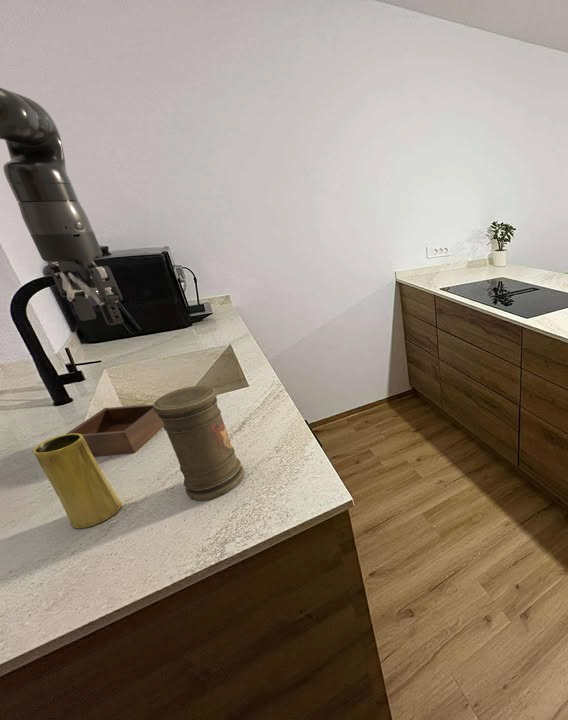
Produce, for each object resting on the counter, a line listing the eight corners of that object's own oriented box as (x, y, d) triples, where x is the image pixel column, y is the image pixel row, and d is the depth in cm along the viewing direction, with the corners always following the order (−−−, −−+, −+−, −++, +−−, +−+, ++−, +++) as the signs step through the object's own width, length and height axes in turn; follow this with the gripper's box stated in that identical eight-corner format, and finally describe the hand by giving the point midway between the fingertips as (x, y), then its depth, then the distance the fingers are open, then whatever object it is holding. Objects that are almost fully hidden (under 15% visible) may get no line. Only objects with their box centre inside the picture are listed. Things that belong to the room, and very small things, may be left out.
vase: (115, 520, 61) (76, 448, 55) (64, 534, 58) (17, 460, 52) (127, 495, 66) (93, 427, 60) (81, 507, 63) (40, 437, 57)
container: (203, 507, 63) (166, 416, 56) (176, 489, 67) (139, 401, 60) (255, 476, 70) (228, 391, 63) (228, 461, 74) (200, 379, 67)
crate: (70, 458, 75) (59, 438, 73) (113, 426, 86) (104, 407, 84) (134, 452, 77) (125, 432, 75) (169, 422, 87) (161, 403, 85)
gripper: (9, 232, 63) (55, 324, 69) (55, 233, 58) (100, 332, 64) (67, 228, 69) (104, 313, 76) (113, 229, 64) (148, 319, 71)
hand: (102, 321), depth 70 cm, fingers open, 8 cm apart
